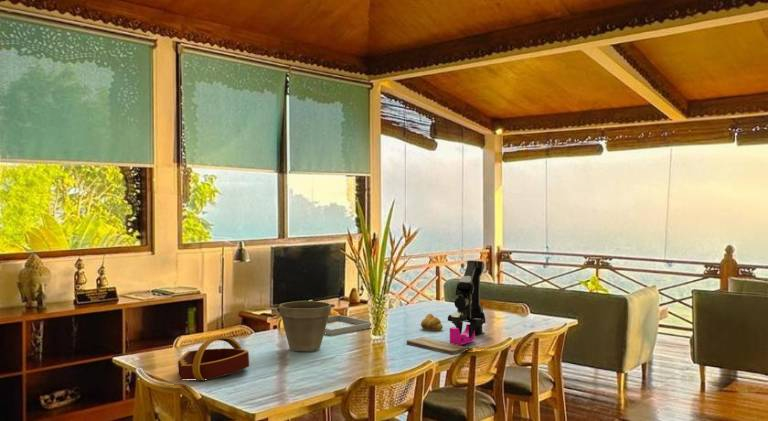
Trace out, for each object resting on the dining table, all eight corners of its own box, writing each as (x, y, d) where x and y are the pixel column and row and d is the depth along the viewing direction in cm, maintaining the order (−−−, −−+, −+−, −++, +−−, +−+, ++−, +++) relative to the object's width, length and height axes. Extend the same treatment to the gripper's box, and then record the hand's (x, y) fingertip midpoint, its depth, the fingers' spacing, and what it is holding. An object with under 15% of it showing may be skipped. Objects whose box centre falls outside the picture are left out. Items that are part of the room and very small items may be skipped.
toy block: (459, 345, 312) (459, 329, 312) (449, 343, 317) (449, 328, 317) (478, 340, 322) (478, 325, 322) (469, 338, 327) (468, 323, 327)
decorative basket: (216, 364, 289) (212, 331, 289) (270, 361, 278) (266, 326, 278) (164, 386, 258) (159, 349, 258) (223, 383, 247) (218, 344, 247)
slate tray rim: (339, 319, 382) (339, 314, 382) (374, 327, 360) (374, 322, 359) (296, 326, 361) (296, 321, 361) (331, 335, 338) (331, 330, 338)
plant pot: (310, 340, 326) (310, 298, 326) (341, 348, 309) (341, 304, 308) (269, 348, 309) (268, 304, 309) (299, 357, 291) (299, 310, 291)
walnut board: (422, 340, 328) (423, 337, 328) (468, 350, 306) (468, 347, 306) (406, 343, 320) (406, 340, 320) (452, 354, 298) (452, 351, 298)
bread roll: (446, 330, 353) (446, 315, 353) (433, 332, 347) (433, 318, 347) (430, 326, 363) (430, 312, 363) (417, 328, 356) (417, 314, 356)
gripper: (440, 305, 321) (440, 336, 321) (469, 310, 307) (469, 342, 308) (454, 302, 329) (454, 333, 329) (483, 307, 315) (483, 339, 315)
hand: (465, 336), depth 320 cm, fingers closed on toy block, 6 cm apart
